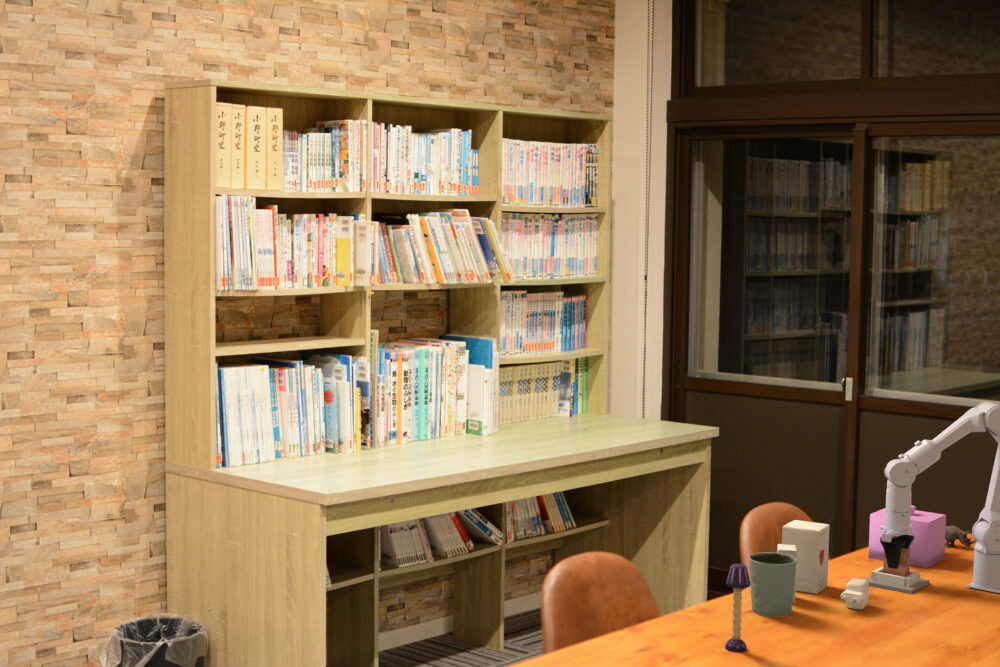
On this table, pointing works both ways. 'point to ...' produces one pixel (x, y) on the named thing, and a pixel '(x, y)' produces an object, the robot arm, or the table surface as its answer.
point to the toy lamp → (737, 604)
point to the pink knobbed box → (926, 537)
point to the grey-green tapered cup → (772, 583)
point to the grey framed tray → (897, 581)
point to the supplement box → (809, 553)
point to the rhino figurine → (956, 537)
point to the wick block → (903, 564)
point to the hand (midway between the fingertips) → (896, 566)
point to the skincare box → (790, 551)
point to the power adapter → (856, 594)
